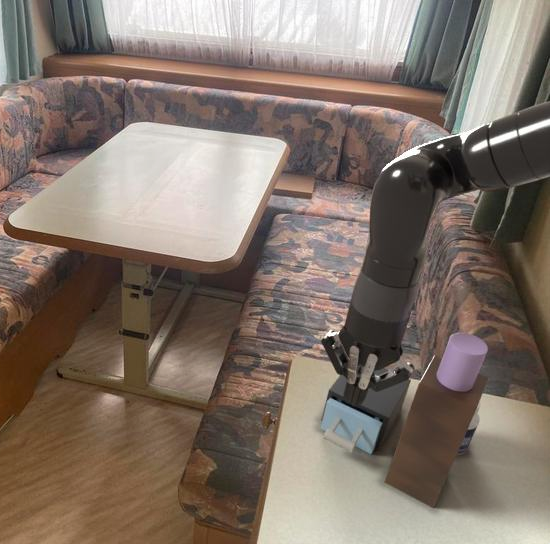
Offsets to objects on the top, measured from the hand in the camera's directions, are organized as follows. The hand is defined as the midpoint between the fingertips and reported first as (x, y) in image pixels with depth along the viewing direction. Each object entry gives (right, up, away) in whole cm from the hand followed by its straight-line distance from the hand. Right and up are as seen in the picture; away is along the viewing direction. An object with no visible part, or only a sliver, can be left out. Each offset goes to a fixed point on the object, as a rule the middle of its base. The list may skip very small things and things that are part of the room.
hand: (353, 401), depth 83 cm
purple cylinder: (+10, +5, -9) cm, 14 cm away
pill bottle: (+17, -9, +8) cm, 21 cm away
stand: (+9, -12, +2) cm, 16 cm away
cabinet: (+5, -6, +12) cm, 14 cm away
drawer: (+2, -7, +8) cm, 11 cm away
